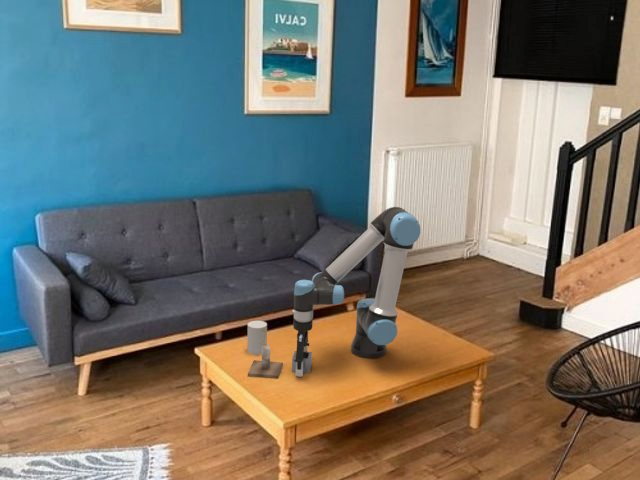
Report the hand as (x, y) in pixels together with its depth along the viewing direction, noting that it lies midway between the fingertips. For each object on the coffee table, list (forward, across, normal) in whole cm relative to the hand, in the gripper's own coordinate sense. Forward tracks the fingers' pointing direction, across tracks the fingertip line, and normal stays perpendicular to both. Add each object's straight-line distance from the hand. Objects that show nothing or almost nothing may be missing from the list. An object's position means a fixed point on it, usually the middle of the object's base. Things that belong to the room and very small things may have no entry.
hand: (301, 368), depth 273 cm
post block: (0, +4, -14) cm, 14 cm away
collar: (0, 0, 0) cm, 0 cm away
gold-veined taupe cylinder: (0, -14, -21) cm, 25 cm away
